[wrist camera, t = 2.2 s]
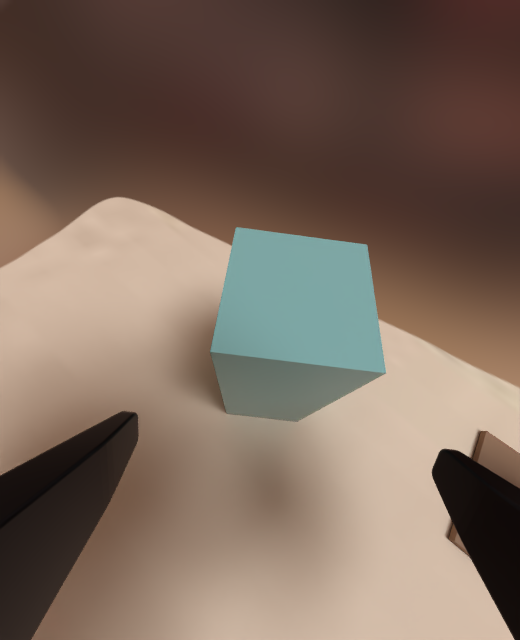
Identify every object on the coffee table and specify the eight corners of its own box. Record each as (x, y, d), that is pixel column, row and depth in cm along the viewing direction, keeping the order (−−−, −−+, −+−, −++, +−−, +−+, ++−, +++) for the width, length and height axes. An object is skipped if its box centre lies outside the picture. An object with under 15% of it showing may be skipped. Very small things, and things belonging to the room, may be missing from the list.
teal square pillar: (297, 421, 18) (385, 373, 7) (226, 413, 18) (209, 351, 7) (298, 355, 21) (366, 244, 10) (236, 347, 21) (236, 227, 10)
